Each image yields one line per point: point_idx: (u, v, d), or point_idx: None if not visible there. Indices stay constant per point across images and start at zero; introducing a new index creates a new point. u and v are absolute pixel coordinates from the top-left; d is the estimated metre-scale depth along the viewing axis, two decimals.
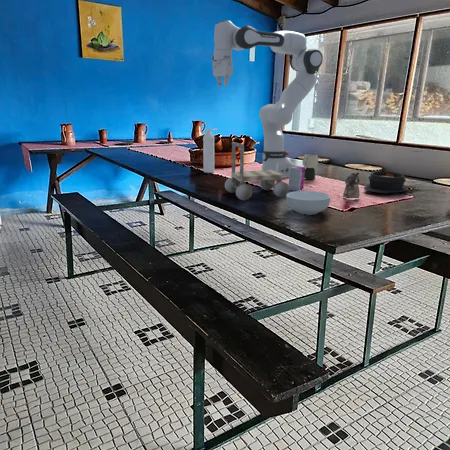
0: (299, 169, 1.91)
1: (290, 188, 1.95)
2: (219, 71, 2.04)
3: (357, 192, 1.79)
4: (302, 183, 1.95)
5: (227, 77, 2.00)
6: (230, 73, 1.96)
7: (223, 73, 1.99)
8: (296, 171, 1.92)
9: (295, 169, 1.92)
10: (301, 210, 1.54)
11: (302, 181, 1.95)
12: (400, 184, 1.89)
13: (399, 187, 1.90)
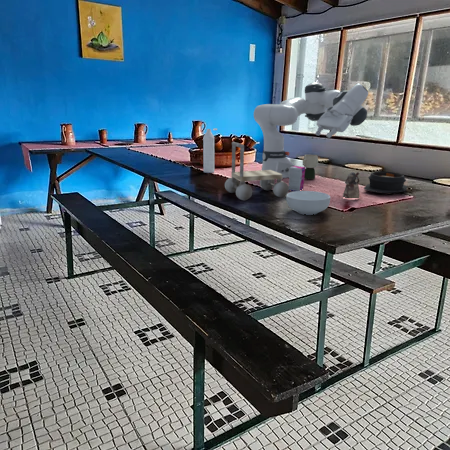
0: (299, 169, 1.91)
1: (290, 188, 1.95)
2: (330, 121, 1.92)
3: (357, 192, 1.79)
4: (302, 183, 1.95)
5: (335, 131, 1.87)
6: (342, 129, 1.84)
7: (335, 125, 1.86)
8: (296, 171, 1.91)
9: (295, 169, 1.92)
10: (301, 210, 1.54)
11: (302, 181, 1.95)
12: (400, 184, 1.89)
13: (399, 187, 1.90)
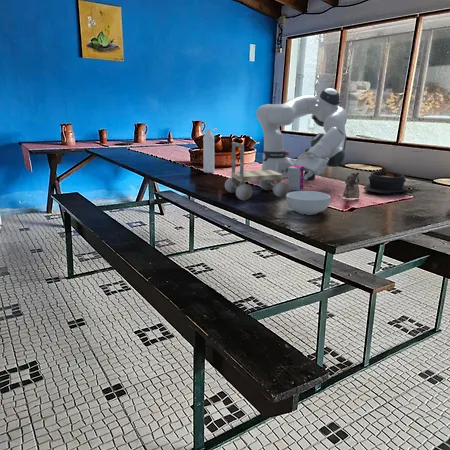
0: (297, 169, 1.90)
1: (290, 188, 1.95)
2: (306, 163, 1.94)
3: (357, 192, 1.79)
4: (302, 182, 1.95)
5: (311, 173, 1.89)
6: (318, 172, 1.86)
7: (311, 168, 1.89)
8: (295, 171, 1.91)
9: (293, 169, 1.91)
10: (301, 210, 1.54)
11: (301, 180, 1.94)
12: (400, 184, 1.89)
13: (399, 187, 1.90)
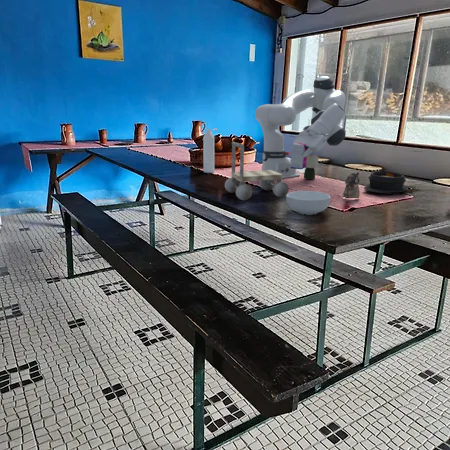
0: (302, 145, 1.86)
1: (292, 165, 1.91)
2: (306, 141, 1.90)
3: (357, 192, 1.79)
4: (305, 160, 1.91)
5: (311, 150, 1.85)
6: (318, 149, 1.82)
7: (311, 144, 1.84)
8: (298, 148, 1.87)
9: (297, 145, 1.87)
10: (301, 210, 1.54)
11: (305, 158, 1.91)
12: (400, 184, 1.89)
13: (399, 187, 1.90)
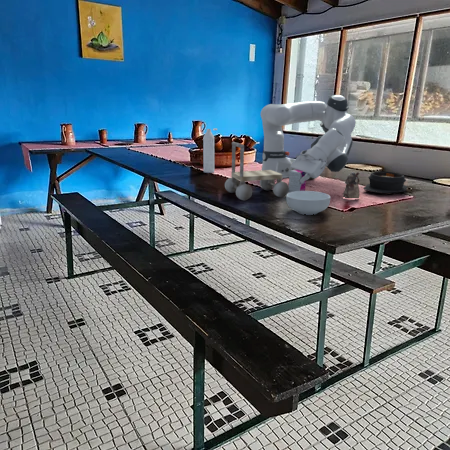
0: (298, 173, 1.81)
1: None
2: (304, 166, 1.83)
3: (357, 192, 1.79)
4: (303, 188, 1.85)
5: (308, 176, 1.79)
6: (316, 175, 1.76)
7: (308, 170, 1.78)
8: (295, 175, 1.82)
9: (294, 173, 1.82)
10: (301, 210, 1.54)
11: (303, 186, 1.84)
12: (400, 184, 1.89)
13: (399, 187, 1.90)
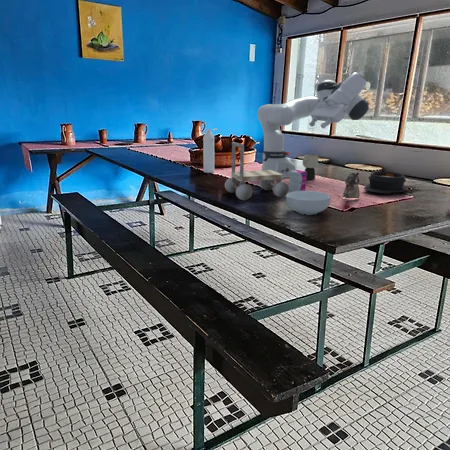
0: (298, 173, 1.80)
1: None
2: (325, 111, 1.79)
3: (357, 192, 1.79)
4: (303, 188, 1.85)
5: (330, 121, 1.75)
6: (338, 119, 1.72)
7: (330, 114, 1.74)
8: (295, 175, 1.82)
9: (295, 173, 1.82)
10: (301, 210, 1.54)
11: (303, 186, 1.84)
12: (400, 184, 1.89)
13: (399, 187, 1.90)
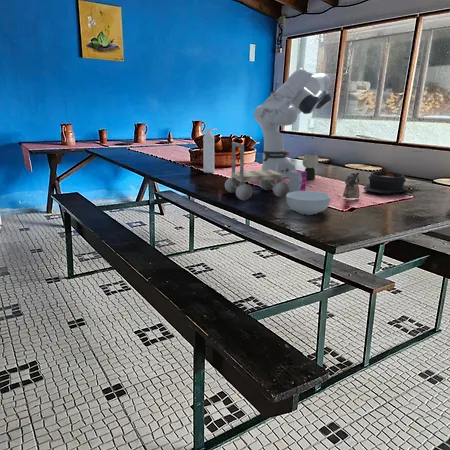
0: (298, 173, 1.80)
1: None
2: (272, 104, 1.91)
3: (357, 192, 1.79)
4: (303, 188, 1.85)
5: (276, 113, 1.87)
6: (282, 111, 1.84)
7: (275, 107, 1.86)
8: (295, 175, 1.82)
9: (295, 173, 1.82)
10: (301, 210, 1.54)
11: (303, 186, 1.84)
12: (400, 184, 1.89)
13: (399, 187, 1.90)
